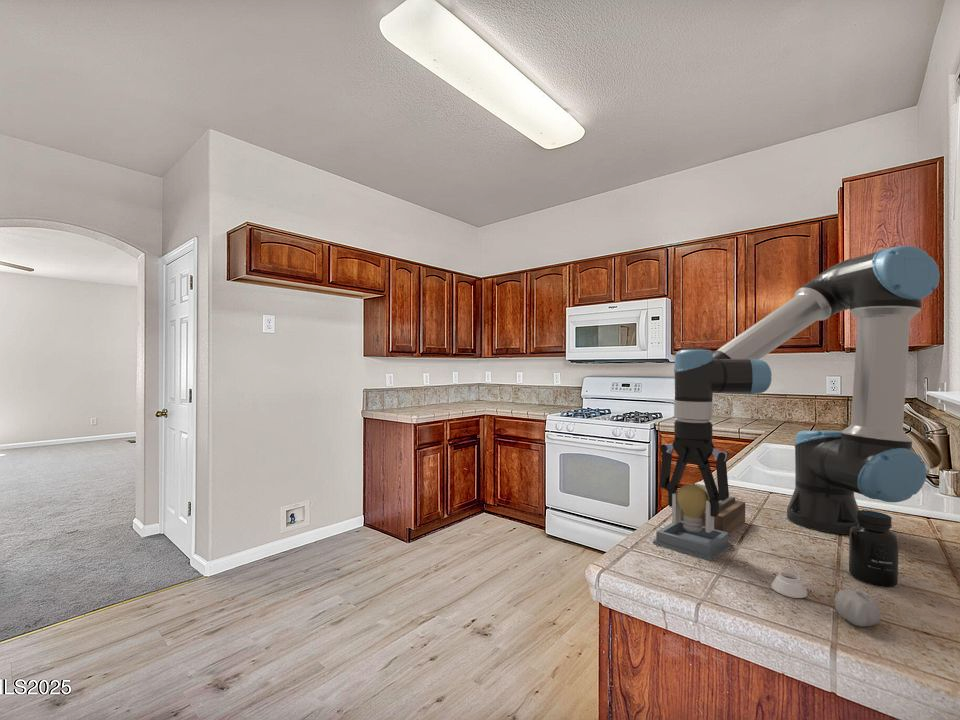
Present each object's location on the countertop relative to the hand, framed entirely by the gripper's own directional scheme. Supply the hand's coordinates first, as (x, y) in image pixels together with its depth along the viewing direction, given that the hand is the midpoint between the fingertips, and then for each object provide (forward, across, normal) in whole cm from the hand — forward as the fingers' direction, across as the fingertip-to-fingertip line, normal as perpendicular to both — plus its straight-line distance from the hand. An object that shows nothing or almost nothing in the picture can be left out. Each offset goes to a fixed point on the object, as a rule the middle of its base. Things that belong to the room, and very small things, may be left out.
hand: (692, 526), depth 98 cm
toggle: (-1, +2, -13) cm, 13 cm away
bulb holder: (+4, 0, 0) cm, 4 cm away
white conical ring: (+4, -20, +9) cm, 22 cm away
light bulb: (+1, 0, 0) cm, 1 cm away
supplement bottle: (+4, -29, -8) cm, 30 cm away
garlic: (+4, -29, +12) cm, 32 cm away
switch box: (+4, +2, -16) cm, 17 cm away
